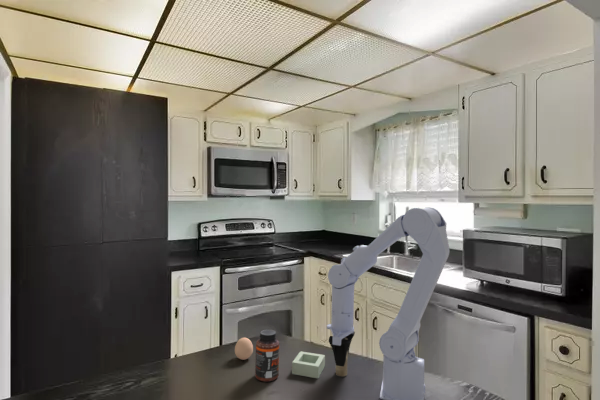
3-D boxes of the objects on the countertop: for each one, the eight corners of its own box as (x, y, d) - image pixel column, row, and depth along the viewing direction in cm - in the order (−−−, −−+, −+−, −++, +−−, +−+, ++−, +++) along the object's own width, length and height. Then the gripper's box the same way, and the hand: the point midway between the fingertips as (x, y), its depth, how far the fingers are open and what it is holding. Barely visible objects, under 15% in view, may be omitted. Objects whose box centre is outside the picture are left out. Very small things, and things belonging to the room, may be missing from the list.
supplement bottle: (275, 384, 86) (276, 337, 86) (251, 381, 87) (252, 335, 87) (281, 372, 92) (282, 329, 92) (259, 369, 93) (260, 326, 93)
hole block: (324, 366, 96) (325, 355, 96) (318, 378, 89) (318, 366, 89) (300, 362, 98) (300, 351, 98) (292, 373, 91) (292, 362, 91)
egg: (235, 355, 102) (235, 334, 102) (253, 354, 102) (253, 334, 102) (233, 363, 97) (234, 341, 97) (252, 362, 97) (253, 341, 97)
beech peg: (348, 371, 93) (348, 337, 93) (346, 377, 90) (346, 342, 90) (336, 370, 94) (337, 336, 94) (334, 375, 91) (335, 340, 91)
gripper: (333, 300, 100) (332, 348, 100) (320, 316, 86) (319, 372, 86) (358, 303, 98) (357, 352, 98) (349, 320, 84) (348, 377, 84)
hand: (341, 362), depth 92 cm, fingers closed on beech peg, 3 cm apart
